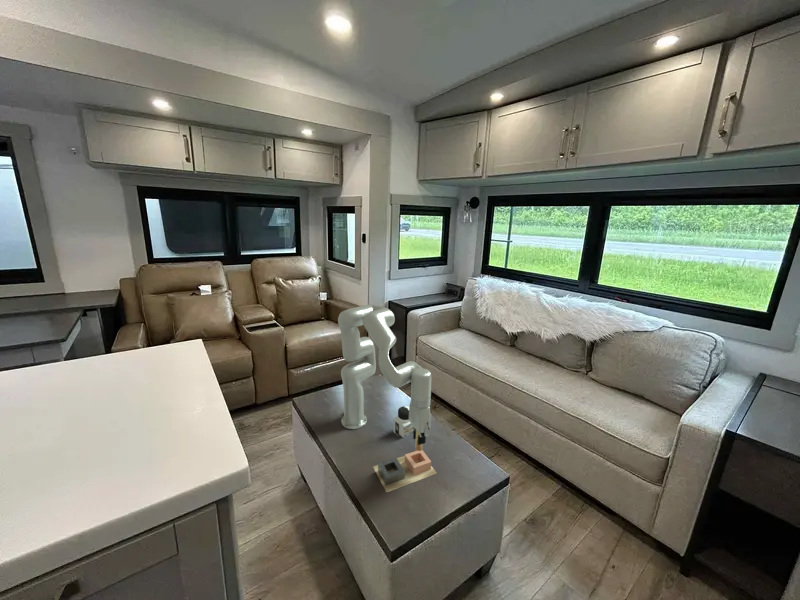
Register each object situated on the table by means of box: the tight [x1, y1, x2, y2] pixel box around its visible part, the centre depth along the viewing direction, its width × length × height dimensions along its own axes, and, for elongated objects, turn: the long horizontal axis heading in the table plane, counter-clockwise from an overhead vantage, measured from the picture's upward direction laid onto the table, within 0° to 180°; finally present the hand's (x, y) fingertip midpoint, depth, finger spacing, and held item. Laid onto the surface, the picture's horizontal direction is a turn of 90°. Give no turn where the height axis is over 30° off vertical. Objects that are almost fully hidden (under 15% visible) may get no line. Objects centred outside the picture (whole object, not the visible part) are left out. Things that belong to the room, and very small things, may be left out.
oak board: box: [372, 455, 438, 493], centre depth 133 cm, size 14×22×2 cm, turn 116°
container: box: [392, 405, 414, 439], centre depth 155 cm, size 8×8×13 cm
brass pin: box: [414, 430, 424, 451], centre depth 132 cm, size 3×3×9 cm
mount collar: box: [377, 457, 405, 485], centre depth 130 cm, size 8×8×4 cm
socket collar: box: [404, 449, 432, 475], centre depth 135 cm, size 8×8×4 cm
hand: (419, 440), depth 132 cm, fingers closed on brass pin, 3 cm apart
